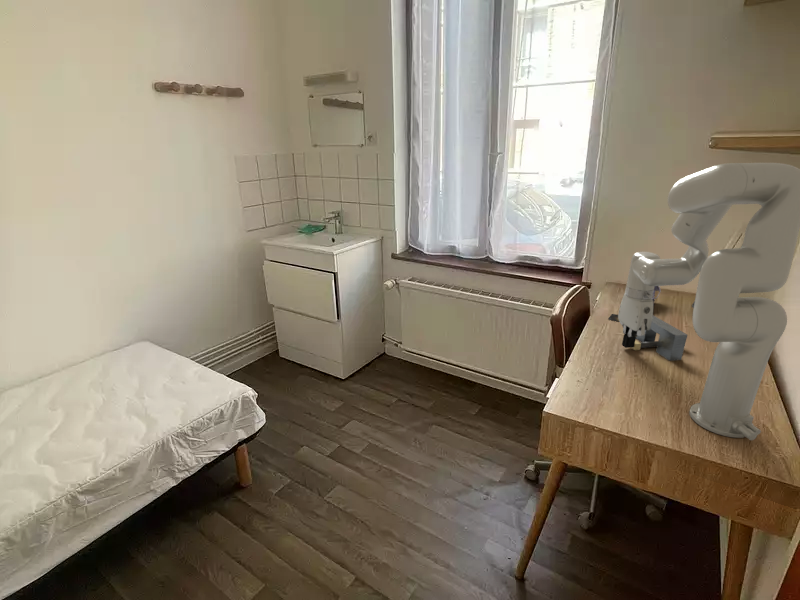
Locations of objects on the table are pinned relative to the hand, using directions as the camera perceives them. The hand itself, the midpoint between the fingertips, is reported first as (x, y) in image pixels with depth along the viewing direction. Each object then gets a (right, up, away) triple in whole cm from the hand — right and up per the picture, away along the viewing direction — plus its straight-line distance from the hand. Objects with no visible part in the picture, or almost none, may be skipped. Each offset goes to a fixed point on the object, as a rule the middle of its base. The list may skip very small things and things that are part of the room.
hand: (627, 346), depth 140 cm
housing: (+10, 0, +2) cm, 10 cm away
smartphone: (+12, +6, +21) cm, 25 cm away
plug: (+10, 0, +2) cm, 10 cm away
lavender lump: (+25, +12, +36) cm, 46 cm away
